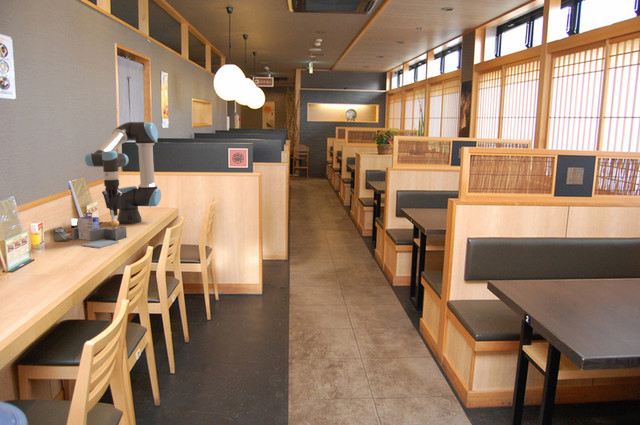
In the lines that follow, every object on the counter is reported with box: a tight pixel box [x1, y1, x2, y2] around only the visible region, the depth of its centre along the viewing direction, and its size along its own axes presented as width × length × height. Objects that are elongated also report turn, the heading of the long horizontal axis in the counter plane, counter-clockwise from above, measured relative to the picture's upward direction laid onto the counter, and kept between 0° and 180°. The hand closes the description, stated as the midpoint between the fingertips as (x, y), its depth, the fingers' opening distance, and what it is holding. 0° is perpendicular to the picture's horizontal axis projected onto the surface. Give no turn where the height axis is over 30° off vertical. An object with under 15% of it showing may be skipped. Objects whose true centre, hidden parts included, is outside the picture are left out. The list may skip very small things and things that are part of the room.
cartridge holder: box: [70, 226, 107, 242], centre depth 263 cm, size 10×16×6 cm, turn 69°
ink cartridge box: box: [77, 212, 100, 241], centre depth 262 cm, size 10×6×14 cm, turn 78°
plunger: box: [109, 220, 120, 229], centre depth 263 cm, size 4×4×6 cm
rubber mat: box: [80, 239, 120, 249], centre depth 251 cm, size 13×13×1 cm
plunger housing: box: [104, 225, 128, 241], centre depth 263 cm, size 8×8×6 cm
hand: (114, 221), depth 262 cm, fingers closed
